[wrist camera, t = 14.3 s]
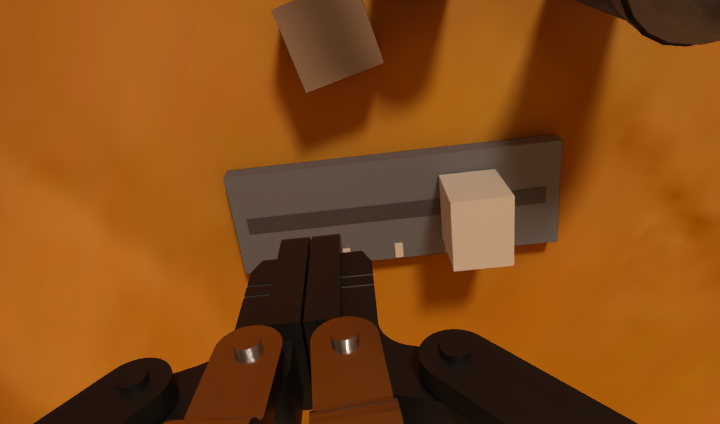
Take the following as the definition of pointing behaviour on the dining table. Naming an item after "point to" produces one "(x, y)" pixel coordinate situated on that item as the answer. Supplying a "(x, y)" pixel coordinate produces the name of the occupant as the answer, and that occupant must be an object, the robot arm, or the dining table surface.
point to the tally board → (388, 198)
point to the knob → (477, 219)
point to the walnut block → (327, 39)
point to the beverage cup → (667, 19)
